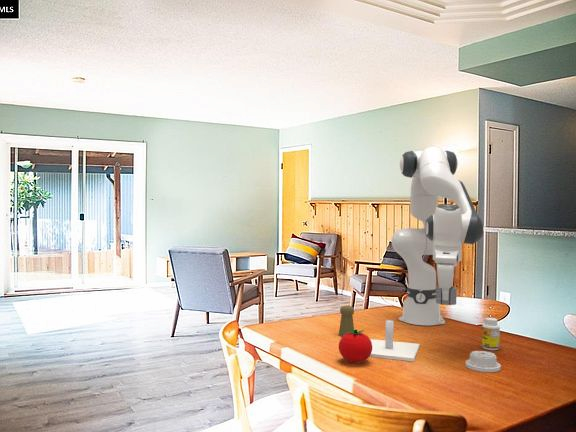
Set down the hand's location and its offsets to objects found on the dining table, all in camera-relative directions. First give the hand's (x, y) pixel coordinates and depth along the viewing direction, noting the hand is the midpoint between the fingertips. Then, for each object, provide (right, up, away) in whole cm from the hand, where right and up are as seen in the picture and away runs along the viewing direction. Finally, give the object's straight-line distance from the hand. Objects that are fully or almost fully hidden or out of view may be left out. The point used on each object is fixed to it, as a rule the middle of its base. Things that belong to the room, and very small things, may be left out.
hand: (446, 297), depth 170 cm
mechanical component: (+8, -20, -10) cm, 24 cm away
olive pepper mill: (-29, -18, +26) cm, 43 cm away
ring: (0, -2, 0) cm, 2 cm away
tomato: (-30, -19, -6) cm, 36 cm away
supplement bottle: (+18, -19, +11) cm, 29 cm away
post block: (-17, -19, +6) cm, 26 cm away
